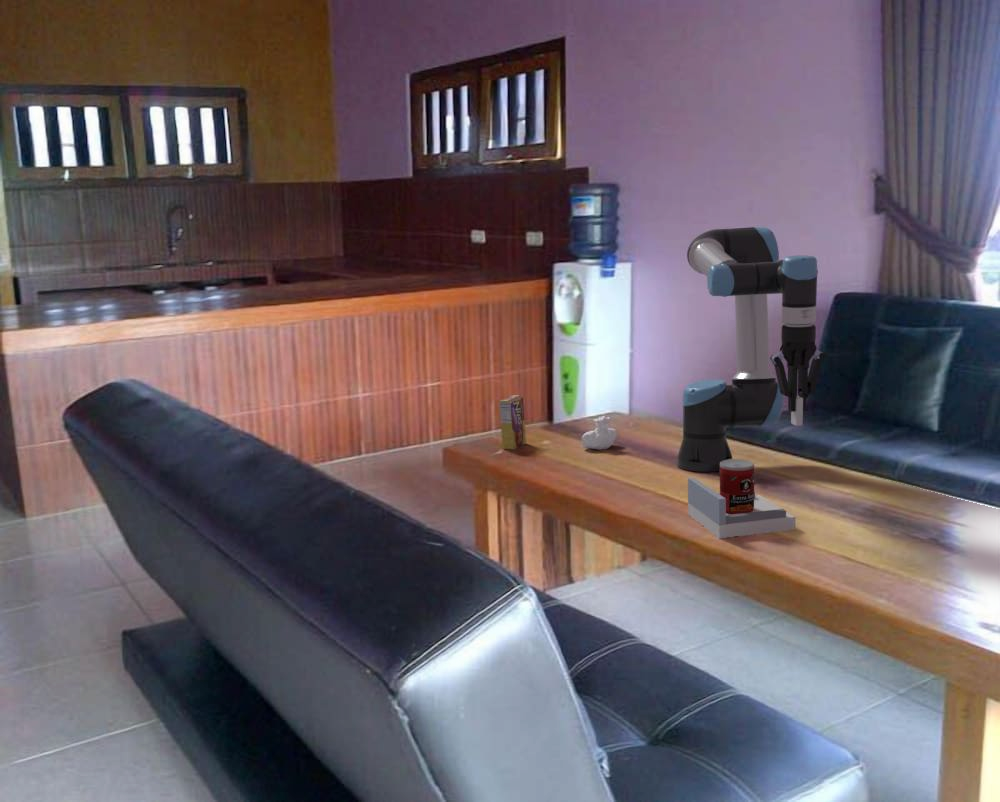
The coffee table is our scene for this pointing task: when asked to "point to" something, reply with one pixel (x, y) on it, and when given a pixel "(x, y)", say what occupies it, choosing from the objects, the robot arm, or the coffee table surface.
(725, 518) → the dock
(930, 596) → the coffee table surface
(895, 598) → the coffee table surface
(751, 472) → the canned food
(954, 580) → the coffee table surface
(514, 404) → the candy box
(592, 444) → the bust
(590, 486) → the coffee table surface
